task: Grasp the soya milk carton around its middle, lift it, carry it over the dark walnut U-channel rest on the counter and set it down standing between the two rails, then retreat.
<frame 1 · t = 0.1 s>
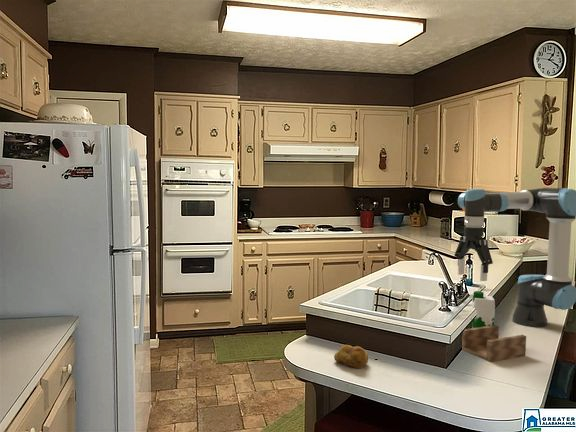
hand: (472, 277, 206), 28 cm above the counter, fingers open, 13 cm apart
soya milk: (482, 338, 215), on the counter
bread roll: (351, 364, 184), on the counter
u rest: (492, 352, 198), on the counter
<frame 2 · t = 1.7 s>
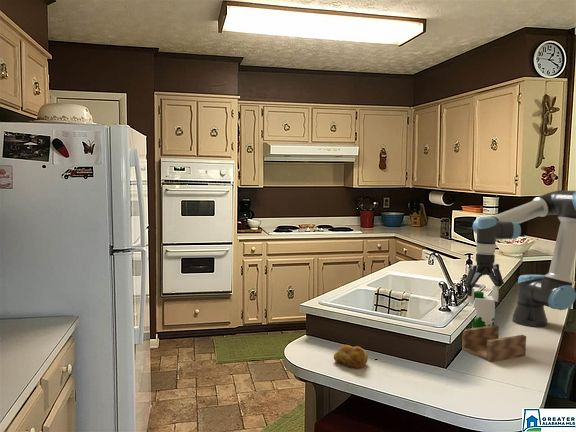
hand: (482, 302, 214), 16 cm above the counter, fingers open, 13 cm apart
nothing on the counter moved.
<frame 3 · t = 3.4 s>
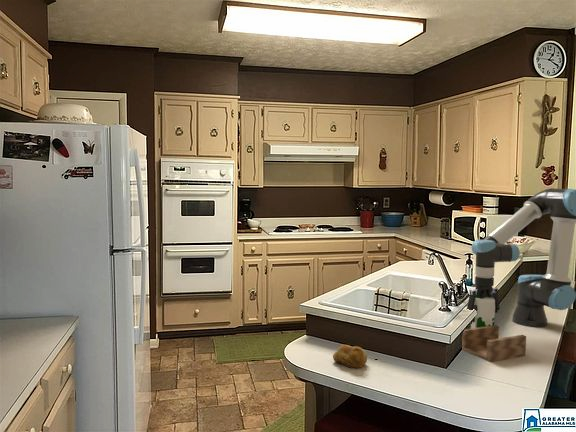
hand: (482, 327, 215), 5 cm above the counter, fingers closed on soya milk, 9 cm apart
soya milk: (482, 338, 215), on the counter, touching gripper
everything else where it was.
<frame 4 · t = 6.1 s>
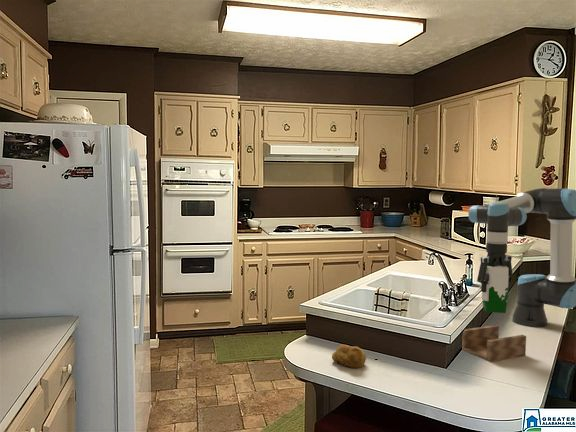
hand: (494, 299, 196), 21 cm above the counter, fingers closed on soya milk, 9 cm apart
soya milk: (494, 310, 197), point 17 cm above the counter, touching gripper
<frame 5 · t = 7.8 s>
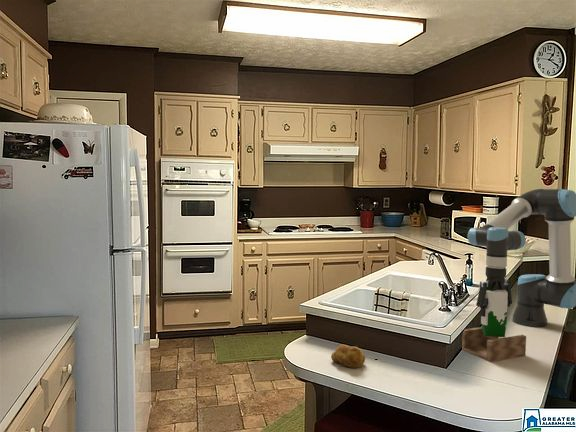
hand: (493, 323, 197), 12 cm above the counter, fingers closed on soya milk, 9 cm apart
soya milk: (493, 334, 197), point 7 cm above the counter, touching gripper
when the fingers open (7 cm above the counter, at t = 9.3 s): soya milk drops 1 cm, resting on u rest.
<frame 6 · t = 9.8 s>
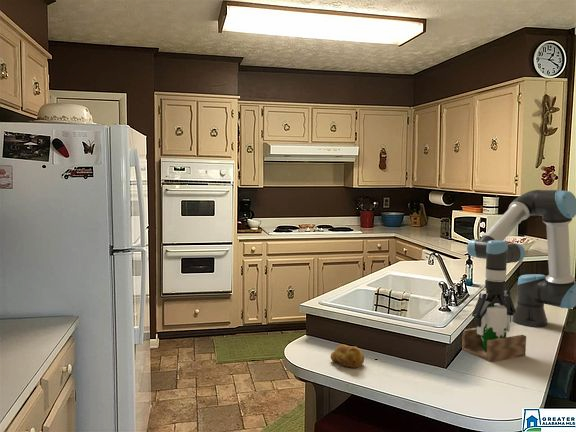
hand: (493, 332, 197), 8 cm above the counter, fingers open, 13 cm apart
soya milk: (493, 350, 198), point 1 cm above the counter, touching u rest
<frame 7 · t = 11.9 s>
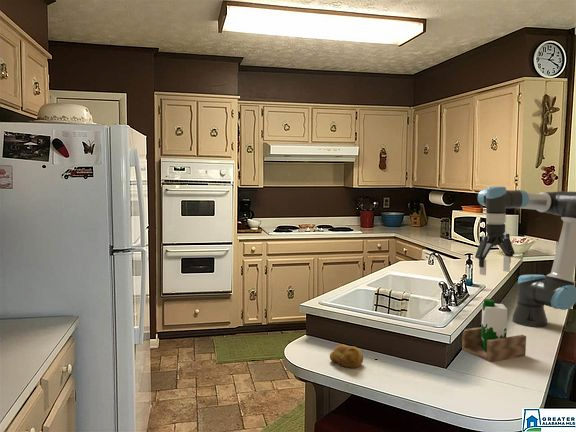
hand: (494, 273, 211), 29 cm above the counter, fingers open, 13 cm apart
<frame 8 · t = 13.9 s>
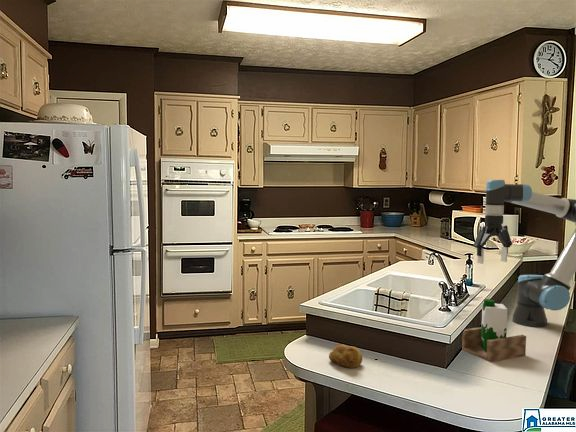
hand: (492, 262, 221), 32 cm above the counter, fingers open, 13 cm apart
at the end: soya milk inside the target area on the u rest (0.4 cm from its centre), point 0.6 cm above the u rest's base; soya milk tilted 0°; the gripper is holding nothing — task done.
